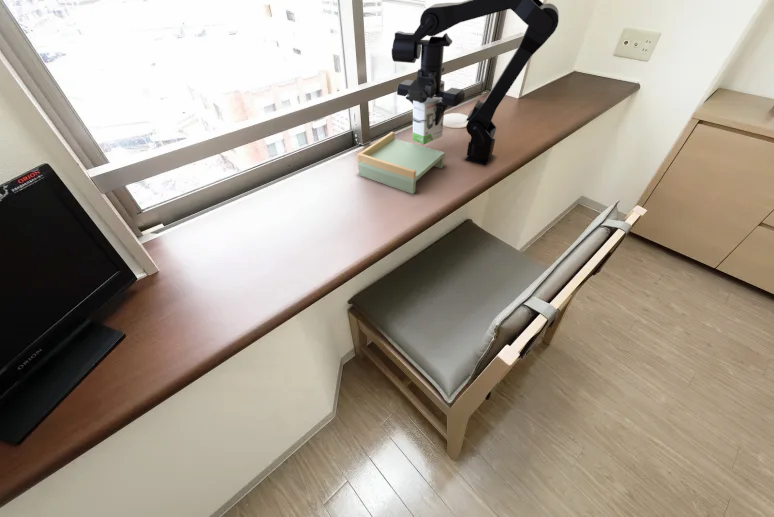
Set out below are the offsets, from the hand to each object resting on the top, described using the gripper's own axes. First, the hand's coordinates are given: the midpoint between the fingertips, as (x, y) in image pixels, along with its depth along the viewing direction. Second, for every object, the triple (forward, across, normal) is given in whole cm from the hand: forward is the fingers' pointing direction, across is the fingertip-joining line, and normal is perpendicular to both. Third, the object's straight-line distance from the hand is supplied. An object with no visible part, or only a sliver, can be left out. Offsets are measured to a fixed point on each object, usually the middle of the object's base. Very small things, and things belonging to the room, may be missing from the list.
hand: (428, 122), depth 100 cm
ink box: (+5, 0, 0) cm, 5 cm away
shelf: (+9, 0, -14) cm, 17 cm away
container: (+9, -6, +16) cm, 19 cm away
